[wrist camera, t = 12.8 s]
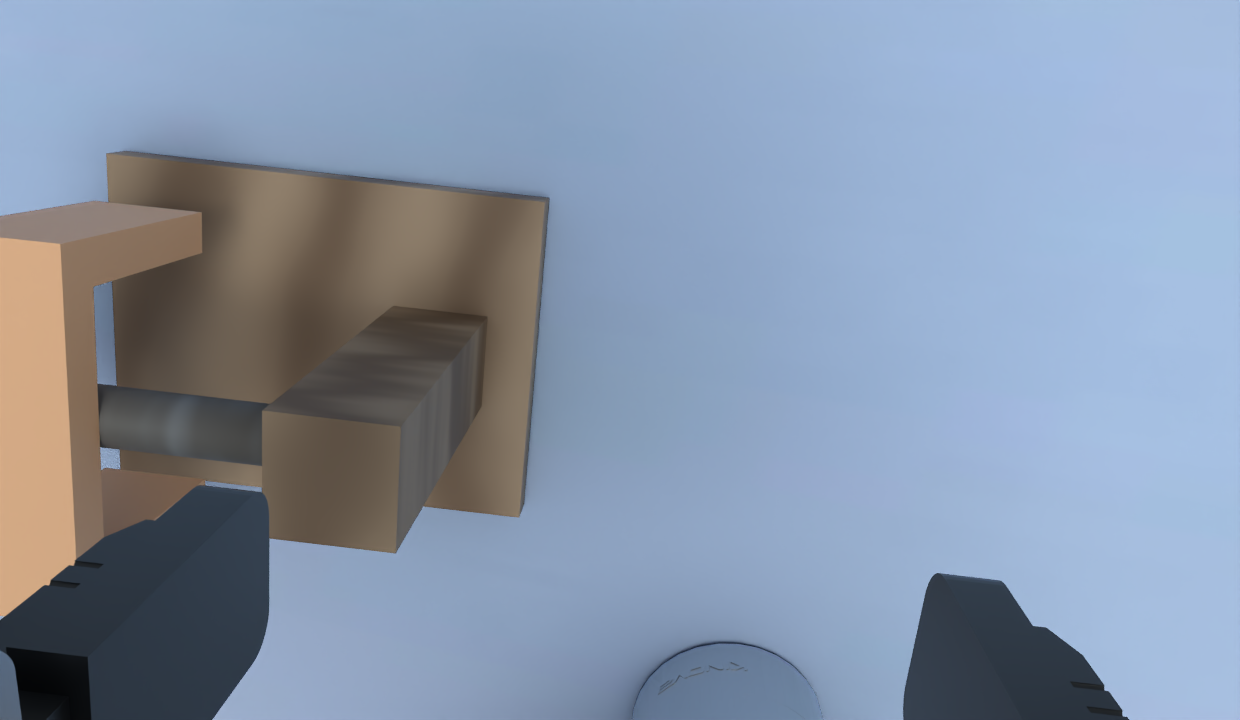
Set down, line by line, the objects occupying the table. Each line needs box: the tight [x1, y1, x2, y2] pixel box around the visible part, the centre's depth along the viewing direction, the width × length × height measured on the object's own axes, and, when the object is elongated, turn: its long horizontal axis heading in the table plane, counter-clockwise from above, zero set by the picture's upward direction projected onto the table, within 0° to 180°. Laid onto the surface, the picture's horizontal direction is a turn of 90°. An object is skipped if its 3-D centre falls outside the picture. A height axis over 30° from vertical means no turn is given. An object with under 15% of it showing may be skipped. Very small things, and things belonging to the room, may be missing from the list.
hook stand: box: [97, 151, 549, 553], centre depth 35 cm, size 24×14×15 cm, turn 84°
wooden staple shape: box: [0, 201, 205, 616], centre depth 33 cm, size 12×4×8 cm, turn 174°
